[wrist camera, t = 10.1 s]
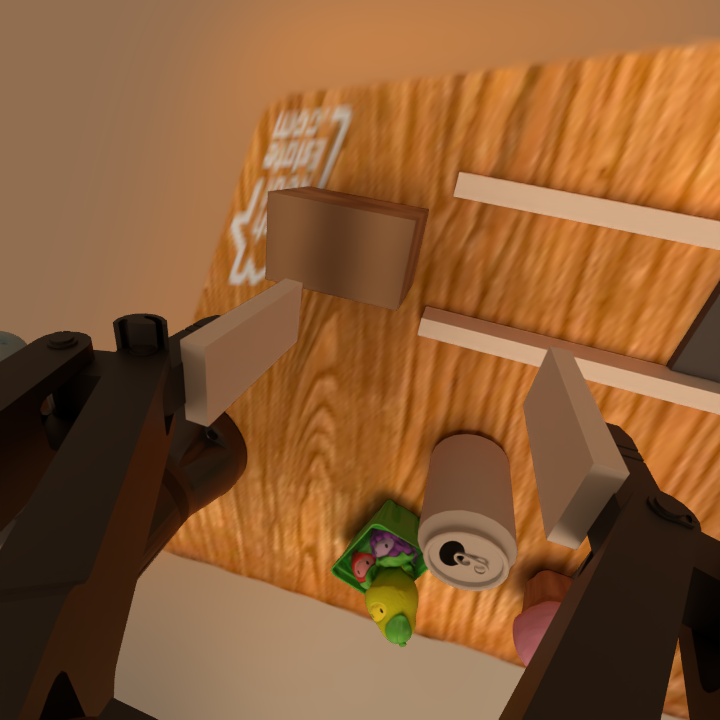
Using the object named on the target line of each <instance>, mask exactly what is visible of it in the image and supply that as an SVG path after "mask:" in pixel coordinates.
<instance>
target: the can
mask: <svg viewBox="0 0 720 720" xmlns="http://www.w3.org/2000/svg"><path fill="white" fill-rule="evenodd" d="M418 543H419V546H420V549H421V551H422V553H423V559H424V561H425V564H426V566H427V568H428V569H429V570H430V571H431V573H432V574H433V575H434V576H436V577H437V578H438V579H440V580H441V581H442V582H444V583H446V584H448V585H450V586H453V587H455V588H459V589H463V590H467V591H483V590H489V589H493V588H495V587H497V586H499V585H501V584H502V583H503V582H504V581H505V580H506V578H507V577H508V574H509V570H510V568H511V567H512V565H513V564H514V563H515V561H516V557H517V553H518V551H517V540H516V529H515V518H514V508H513V497H512V486H511V475H510V466H509V462H508V457H507V456H506V455H505V453H504V452H503V450H502V449H501V448H500V447H499V446H498V445H496V444H495V443H494V442H493V441H491V440H488V439H486V438H484V437H481V436H477V435H471V434H462V435H454V436H451V437H449V438H446V439H444V440H443V441H441V442H440V443H439V444H438V445H437V446H436V447H435V449H434V451H433V452H432V454H431V460H430V466H429V472H428V477H427V483H426V489H425V495H424V500H423V506H422V512H421V518H420V524H419V529H418Z"/></svg>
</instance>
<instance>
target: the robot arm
mask: <svg viewBox="0 0 720 720" xmlns="http://www.w3.org/2000/svg"><path fill="white" fill-rule="evenodd" d="M302 285H303V283H302V282H298V281H294V280H290V279H284V280H282V281H281V282H279V283H277V284H275V285H274V286H272V287H270V288H269V289H267V290H265V291H263V292H262V293H260V294H258V295H256V296H255V297H253V298H251V299H250V300H248V301H246V302H244V303H243V304H241V305H239V306H238V307H236V308H234V309H232V310H231V311H229V312H227V313H226V314H224V315H222V316H219V315H215V316H211V317H207V318H203V319H201V320H200V321H198V322H196V323H194V324H193V325H191V326H189V327H187V328H186V329H185V330H182V331H180V332H178V333H176V334H175V335H173V336H171V337H169V338H168V329H167V320H165V319H164V318H163V317H161V316H157V315H153V314H132V315H126V316H123V317H120V318H118V319H116V320H115V321H114V322H113V327H114V332H115V339H116V345H117V351H116V352H110V351H99V350H93V346H92V341H91V337H90V336H88V335H87V334H84V333H80V332H70V331H63V332H55V333H53V334H49V335H45V336H43V337H41V338H38V339H37V340H35V341H33V342H32V343H30V344H28V345H27V344H26V343H25V342H24V341H23V340H22V339H21V338H20V337H18V336H16V335H14V334H11V333H8V332H2V331H0V720H158V719H156V718H154V717H152V716H150V715H148V714H146V713H143V712H141V711H139V710H137V709H135V708H133V707H131V706H129V705H127V704H125V703H123V702H121V701H118V700H117V699H115V698H114V678H115V670H116V664H117V660H118V655H119V651H120V647H121V643H122V639H123V635H124V631H125V627H126V623H127V618H128V615H129V611H130V607H131V603H132V599H133V595H134V591H135V586H136V583H137V580H138V578H139V577H140V576H141V575H142V573H143V572H144V571H145V570H146V569H147V567H148V566H149V565H150V564H151V562H152V561H153V560H154V558H156V556H157V555H158V554H159V553H160V552H161V550H162V549H163V548H164V547H165V545H166V544H167V543H168V542H169V541H170V539H171V538H172V537H173V536H174V534H175V533H176V532H177V531H178V529H179V528H180V527H181V526H182V525H183V523H184V522H185V521H186V520H187V519H188V518H189V517H190V516H191V515H192V514H194V513H195V512H197V511H199V510H200V509H202V508H203V507H205V506H206V505H208V504H209V503H211V502H212V501H214V500H215V499H217V498H218V497H219V496H221V495H223V494H225V493H226V492H228V491H229V490H230V489H231V488H232V487H233V485H234V484H235V483H236V482H237V480H238V479H239V478H240V476H241V475H242V474H243V472H244V470H245V467H246V460H247V455H246V448H245V445H244V442H243V439H242V437H241V435H240V433H239V431H238V429H237V428H236V426H235V425H234V423H233V422H232V421H231V420H230V418H229V417H228V416H227V415H226V414H225V413H224V411H225V410H226V409H227V408H228V407H229V406H230V405H231V404H232V403H233V402H234V401H235V400H237V399H238V398H239V397H240V396H241V395H242V394H243V393H244V392H245V391H246V390H247V389H248V388H249V387H250V386H251V385H252V384H253V383H254V382H255V381H256V380H257V379H258V378H259V377H260V376H262V375H263V374H264V373H265V372H266V371H267V370H268V369H269V368H270V367H271V366H272V365H273V364H274V363H275V362H276V361H277V360H278V359H279V358H280V357H281V356H282V355H283V354H284V353H285V352H287V351H288V350H289V349H290V348H291V347H292V346H293V345H294V344H295V343H296V342H297V339H298V328H299V317H300V306H301V295H302ZM523 407H524V413H525V419H526V425H527V431H528V436H529V442H530V448H531V454H532V460H533V465H534V471H535V477H536V483H537V489H538V494H539V500H540V506H541V512H542V518H543V523H544V529H545V535H546V540H548V541H551V542H554V543H557V544H560V545H563V546H566V547H569V548H572V549H575V550H577V549H578V548H579V546H580V545H581V543H582V542H583V540H584V539H585V538H586V536H587V535H588V539H589V542H590V546H591V549H592V550H591V551H590V553H589V554H588V556H587V557H586V558H585V560H584V561H583V563H582V564H581V565H580V567H579V568H578V569H577V571H576V572H575V574H574V575H573V576H572V579H573V582H572V584H571V586H570V588H569V589H568V591H567V593H566V595H565V597H564V599H563V601H562V602H561V604H560V606H559V608H558V610H557V612H556V614H555V616H554V617H553V619H552V621H551V623H550V625H549V627H548V629H547V630H546V632H545V634H544V636H543V638H542V640H541V642H540V643H539V645H538V647H537V649H536V651H535V653H534V655H533V656H532V658H531V660H530V662H529V664H528V666H527V668H526V669H525V672H524V674H523V675H522V677H521V679H520V681H519V683H518V685H517V686H516V688H515V690H514V692H513V694H512V696H511V698H510V699H509V701H508V703H507V705H506V707H505V709H504V710H503V712H502V714H501V716H500V718H499V720H661V715H662V711H663V706H664V701H665V697H666V692H667V687H668V683H669V678H670V673H671V669H672V664H673V659H674V655H675V650H676V645H677V641H678V638H679V645H680V652H681V660H682V667H683V674H684V681H685V689H686V696H687V703H688V710H689V718H690V720H720V541H718V540H716V539H714V538H712V537H710V536H708V535H706V534H705V533H703V532H701V527H700V522H699V521H698V519H697V518H696V516H695V515H694V514H693V513H692V512H691V511H690V510H689V509H688V508H687V507H686V506H685V505H684V504H683V503H681V502H680V501H678V500H677V499H675V498H674V497H672V496H670V495H668V494H666V493H664V492H662V491H660V489H659V488H658V486H657V484H656V482H655V480H654V478H653V477H652V475H651V473H650V471H649V469H648V467H647V466H646V464H645V463H643V461H644V460H643V458H642V456H641V455H640V453H638V449H637V447H636V446H635V444H634V442H633V440H632V438H631V437H630V436H629V435H627V434H626V433H625V432H624V431H623V430H622V429H621V428H620V427H619V426H617V425H613V424H609V423H606V422H605V421H604V419H603V417H602V415H601V412H600V410H599V408H598V406H597V404H596V402H595V400H594V398H593V396H592V394H591V392H590V390H589V387H588V385H587V383H586V381H585V379H584V377H583V375H582V373H581V371H580V369H579V367H578V365H577V362H576V360H575V358H574V356H573V354H572V352H571V351H569V350H565V349H561V348H557V347H553V346H549V348H548V351H547V353H546V355H545V357H544V359H543V362H542V364H541V366H540V368H539V371H538V373H537V375H536V377H535V379H534V382H533V384H532V386H531V388H530V390H529V393H528V395H527V397H526V399H525V402H524V404H523Z"/></svg>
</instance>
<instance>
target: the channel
mask: <svg viewBox="0 0 720 720" xmlns="http://www.w3.org/2000/svg"><path fill="white" fill-rule="evenodd" d="M453 196H454V197H459V198H464V199H469V200H474V201H479V202H483V203H488V204H493V205H498V206H503V207H508V208H513V209H518V210H523V211H528V212H533V213H538V214H543V215H548V216H553V217H558V218H563V219H568V220H573V221H578V222H583V223H588V224H593V225H598V226H603V227H608V228H613V229H618V230H623V231H627V232H632V233H637V234H642V235H647V236H652V237H657V238H662V239H667V240H672V241H677V242H682V243H687V244H692V245H697V246H702V247H707V248H712V249H717V250H720V220H715V219H709V218H704V217H699V216H694V215H688V214H683V213H678V212H673V211H667V210H662V209H657V208H651V207H646V206H641V205H636V204H630V203H625V202H620V201H615V200H609V199H604V198H599V197H594V196H588V195H583V194H578V193H573V192H567V191H562V190H557V189H552V188H546V187H541V186H536V185H530V184H525V183H520V182H515V181H509V180H504V179H499V178H494V177H488V176H483V175H478V174H473V173H467V172H462V171H461V172H459V176H458V180H457V184H456V188H455V191H454V195H453ZM417 335H420V336H424V337H427V338H431V339H435V340H439V341H442V342H446V343H450V344H454V345H458V346H461V347H465V348H469V349H473V350H477V351H480V352H484V353H488V354H492V355H495V356H499V357H503V358H507V359H511V360H514V361H518V362H522V363H526V364H529V365H533V366H537V367H540V366H541V364H542V362H543V359H544V357H545V355H546V353H547V351H548V348H549V346H553V347H557V348H561V349H565V350H569V351H571V352H572V354H573V356H574V358H575V360H576V362H577V365H578V367H579V369H580V371H581V373H582V375H583V377H584V379H586V380H590V381H594V382H598V383H601V384H605V385H609V386H613V387H617V388H620V389H624V390H628V391H632V392H635V393H639V394H643V395H647V396H651V397H654V398H658V399H662V400H666V401H670V402H673V403H677V404H681V405H685V406H688V407H692V408H696V409H700V410H704V411H707V412H711V413H715V414H719V415H720V382H718V381H714V380H710V379H706V378H702V377H698V376H694V375H690V374H686V373H682V372H678V371H674V370H671V369H670V368H669V367H668V366H664V365H660V364H656V363H652V362H648V361H644V360H640V359H636V358H632V357H628V356H624V355H620V354H616V353H612V352H608V351H604V350H600V349H596V348H592V347H588V346H584V345H580V344H576V343H572V342H568V341H564V340H560V339H556V338H552V337H548V336H544V335H540V334H536V333H532V332H528V331H524V330H520V329H516V328H512V327H508V326H504V325H500V324H496V323H492V322H488V321H484V320H480V319H476V318H472V317H468V316H464V315H460V314H456V313H452V312H448V311H445V310H441V309H437V308H433V307H429V306H426V308H425V311H424V313H423V316H422V319H421V322H420V326H419V330H418V334H417Z"/></svg>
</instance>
